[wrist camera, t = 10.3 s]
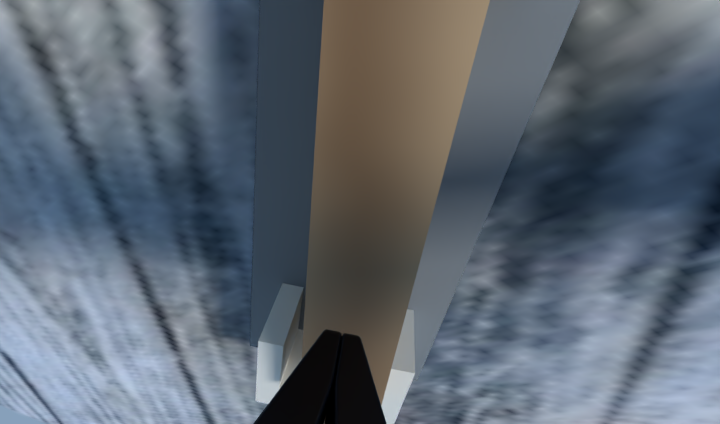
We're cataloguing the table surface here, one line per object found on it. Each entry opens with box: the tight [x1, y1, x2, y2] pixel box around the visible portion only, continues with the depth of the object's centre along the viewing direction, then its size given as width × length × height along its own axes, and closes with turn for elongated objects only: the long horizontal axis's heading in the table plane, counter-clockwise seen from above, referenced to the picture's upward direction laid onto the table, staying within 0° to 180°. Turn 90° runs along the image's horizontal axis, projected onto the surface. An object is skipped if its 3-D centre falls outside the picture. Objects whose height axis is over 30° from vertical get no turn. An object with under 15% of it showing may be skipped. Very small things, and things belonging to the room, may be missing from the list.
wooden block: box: [302, 0, 490, 422], centre depth 14 cm, size 4×20×6 cm, turn 173°
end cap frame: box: [250, 0, 580, 424], centre depth 15 cm, size 11×28×5 cm, turn 170°
